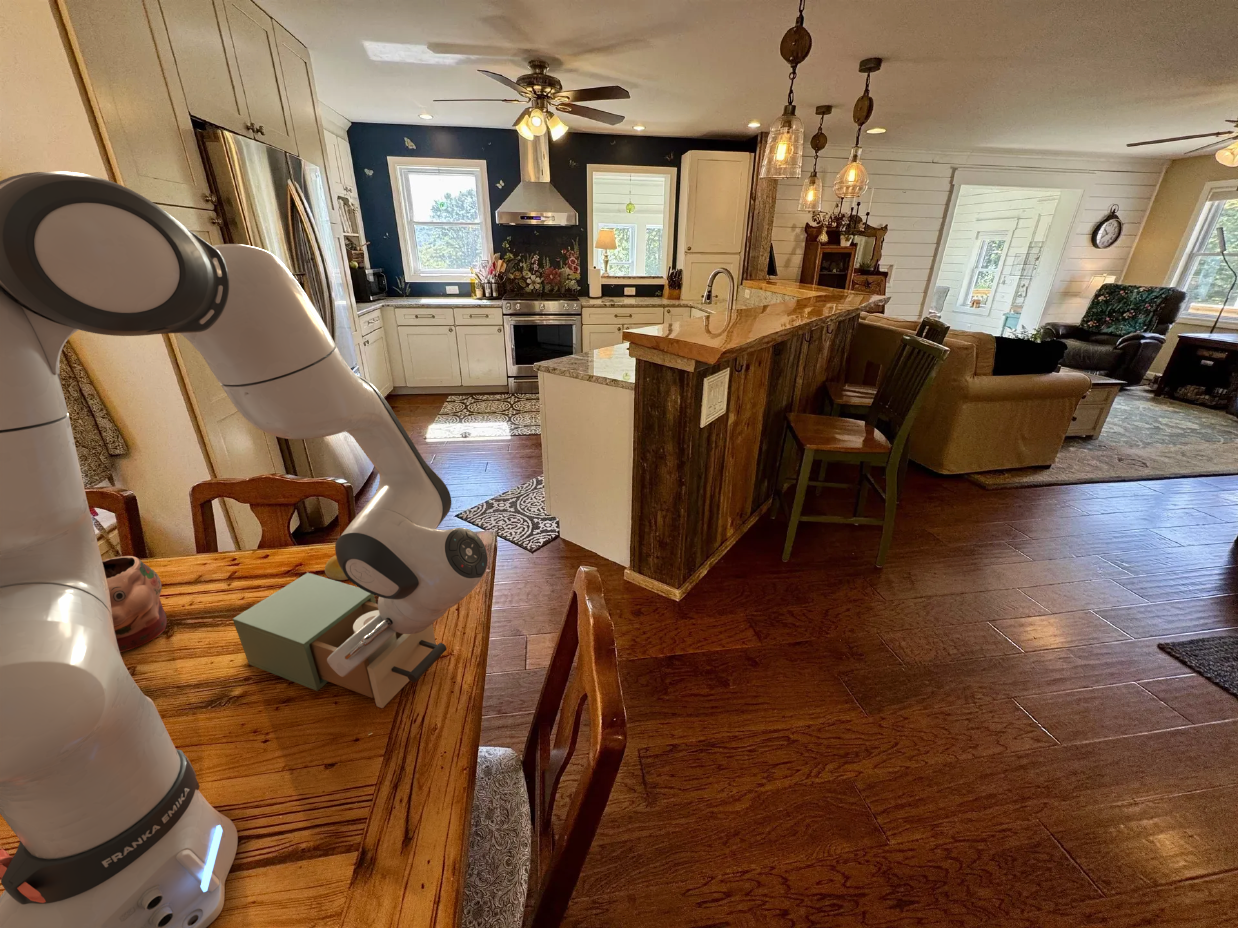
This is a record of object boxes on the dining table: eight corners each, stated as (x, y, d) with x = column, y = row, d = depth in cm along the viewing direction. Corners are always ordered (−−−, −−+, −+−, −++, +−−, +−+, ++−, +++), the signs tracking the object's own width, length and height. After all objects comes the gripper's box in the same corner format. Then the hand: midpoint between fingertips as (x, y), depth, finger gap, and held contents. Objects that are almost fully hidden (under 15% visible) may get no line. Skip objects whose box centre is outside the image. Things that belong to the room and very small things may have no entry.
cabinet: (382, 634, 90) (373, 591, 86) (317, 691, 78) (303, 644, 74) (319, 613, 95) (307, 572, 91) (248, 664, 83) (232, 618, 79)
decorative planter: (78, 623, 91) (46, 560, 86) (164, 593, 100) (139, 533, 94) (90, 680, 79) (53, 610, 74) (187, 640, 88) (160, 575, 82)
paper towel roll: (382, 677, 77) (372, 637, 74) (354, 667, 79) (344, 628, 76) (407, 652, 82) (399, 614, 79) (381, 644, 84) (372, 606, 81)
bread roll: (324, 567, 108) (320, 552, 107) (368, 555, 113) (365, 540, 112) (328, 587, 102) (324, 571, 101) (375, 573, 107) (371, 557, 105)
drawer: (460, 659, 83) (455, 622, 80) (408, 718, 73) (399, 678, 70) (371, 630, 89) (363, 595, 86) (311, 680, 79) (299, 642, 76)
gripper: (372, 667, 63) (331, 700, 70) (469, 578, 81) (429, 611, 88) (339, 631, 63) (301, 668, 70) (443, 549, 81) (405, 585, 88)
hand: (373, 635), depth 79 cm, fingers closed on paper towel roll, 5 cm apart
